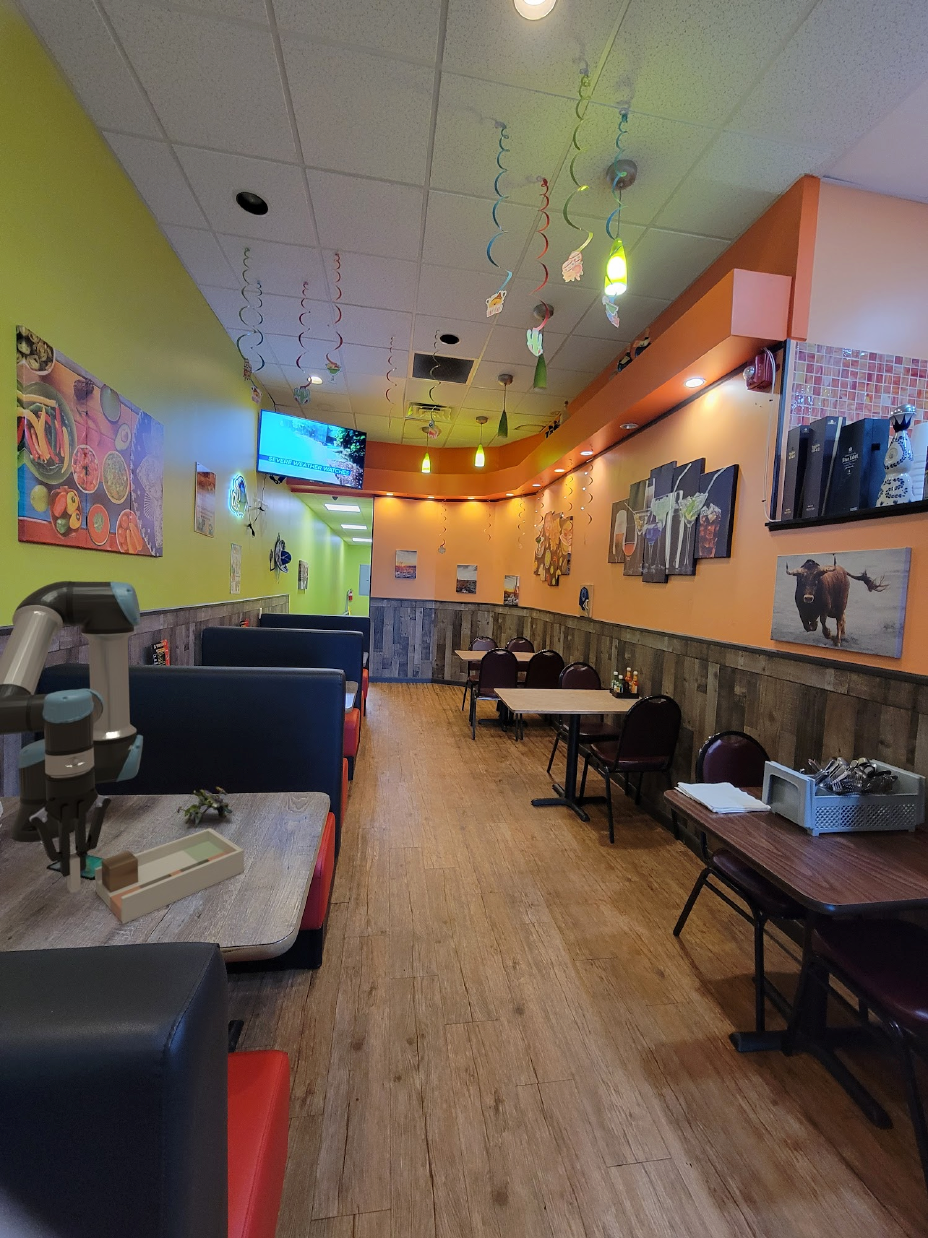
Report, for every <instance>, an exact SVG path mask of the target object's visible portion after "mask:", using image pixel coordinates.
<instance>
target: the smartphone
mask: <svg viewBox="0 0 928 1238" xmlns="http://www.w3.org/2000/svg"><path fill="white" fill-rule="evenodd" d="M104 859H105V858H102V857H98V856H94V855H90V854H87V856H86V868H85V870H83V871H80V879H84V878H85V880H88V879H89V880H88V881H95V868H98V867H101V866H102V860H104ZM45 868H46V869H47V870H50V871H54V872H56V873H57V872H58V873H60V861H55V862H52V863H50V864H48V865H46V867H45Z"/></svg>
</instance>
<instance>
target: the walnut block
mask: <svg viewBox="0 0 928 1238" xmlns="http://www.w3.org/2000/svg"><path fill="white" fill-rule="evenodd" d="M134 855H135V854H133V853H132V852H131V851H130V850H127V851H124V852H122V853H117V854H116V855H113V856H111V857H110V856H109V857H107V858H103V859H104V860H102V884H103V885H104V886H105V887H106V888H107V889H108V891H109V892H110V893H111V892H114V891H117V890H119V889H122V888H124V887H127V886H129V885H132V884H135V883H137V882H138V859H137V858H136V857H135V856H134Z"/></svg>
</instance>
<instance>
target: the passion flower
mask: <svg viewBox="0 0 928 1238" xmlns="http://www.w3.org/2000/svg"><path fill="white" fill-rule="evenodd" d="M215 789H216V790H217V791H218V792H219V793H218V794H215V795H214V794H213V793H212V792H210V791H209V790H206V789H204V790H203V789H200V790H199V792H196V790H194V791H193V794H194V796H196V797H197V798H198V804H196V803H193V804H191V806H190V807H188V808H186V809H183V808H182V807H183V806H178V808H177V811H176V812H177V813H178V814H180V811H184V817H187V816H188V818H186V820H185V824H186V825H187V824H188V822H189V820H190V819H191V818H192V817H194V819H195V824H194V826H193V829H195V828H196V827H197V824H198V823H200V821H201V820H202V819H203V817H204V815H205V814H206V813H207V811H208V810H210V808H212V810H214V811H217V814H218V816H219V818H221V819H222V818H225V819H226V818H227V814H230V815H231V814H232V813H233V810H232V809H230V805H229V802H227V801H224V798H222V797H220V796H221V795H224V796H227V795H229V794H228V793H227V792H226V791H225V790H224V789H223V788H221V787H219V786H215ZM204 806H206V808H205V809H204V811H203V812H201V809H202V807H204ZM226 813H227V814H226Z"/></svg>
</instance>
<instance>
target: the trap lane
mask: <svg viewBox="0 0 928 1238" xmlns="http://www.w3.org/2000/svg"><path fill="white" fill-rule="evenodd" d="M244 852H245V851H244V849H243V848H241V847H240V846H238V845H236V844H235V843H233V842H232V841H231V840H229V839H228V838H226V837H224V835H222V834H220V833H219V832H217V831H216V830H214V829H212V827H209V828H207V829H204V830H200V831H198V832H195V833H192V834H190V835H187V836H184V837H181V838H177V839H175V840H173V841H169V842H167V843H164V844H161V845H158V846H155V847H153V848H149V849H146V850H144V851H141V852H139V853H135V854H133V855H134V856H135V857H136V858H137V859H138V882H137V883H135V884H132V885H129V886H127V887H124V888H122V889H119V890H117V891H114V892H111V893H110V892H109V891H108V889H107V888H106V887H105V886H104V885H103V884H102V866H101V867H98V868H95V880H94V881H95V882H94V884H95V887H94V888H95V889H94V891H95V893H96V892H97V893H96V894H97V895H98V896H99V897H100V899H101V900H102V901H103V902H104V903H105V904H106V906H107V907H108V908H109V910H111V911H112V912H113V914H114V915H115V916H116V917H117V918H118V920H119V921H120V922H121V923H122V924H123V925H125V924H127V923H129V922H132V921H133V920H136V919H138V918H141V917H144V916H145V915H148V914H149V913H152V912H154V911H157V910H158V909H161V908H164V907H166V906H168V905H170V904H173V903H175V902H177V901H179V900H181V899H184V898H186V897H188V896H190V895H193V894H195V893H197V892H200V891H202V890H204V889H207V888H210V887H211V886H213V885H216V884H218V883H220V882H221V883H222V882H223V881H225V880H228V879H230V878H233V877H234V876H237V875H239V874H241V873H243V872H244V871H245V870H244V869H245V863H244V862H245V859H244V858H245V856H244V855H245V854H244Z"/></svg>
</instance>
